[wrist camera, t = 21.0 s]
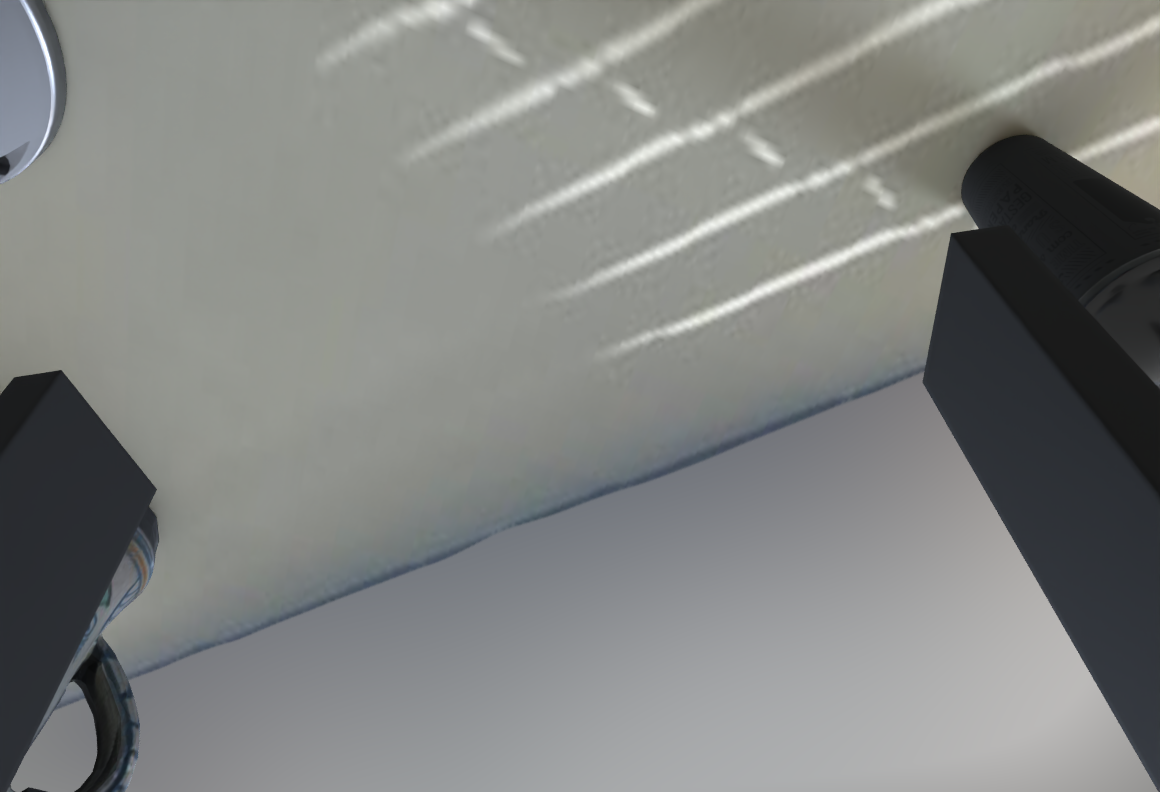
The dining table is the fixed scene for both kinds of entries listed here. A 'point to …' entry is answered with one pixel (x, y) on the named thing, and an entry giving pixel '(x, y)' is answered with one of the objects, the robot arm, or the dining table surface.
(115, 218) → the dining table surface
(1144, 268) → the drinking cup
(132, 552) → the beer stein
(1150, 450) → the robot arm
